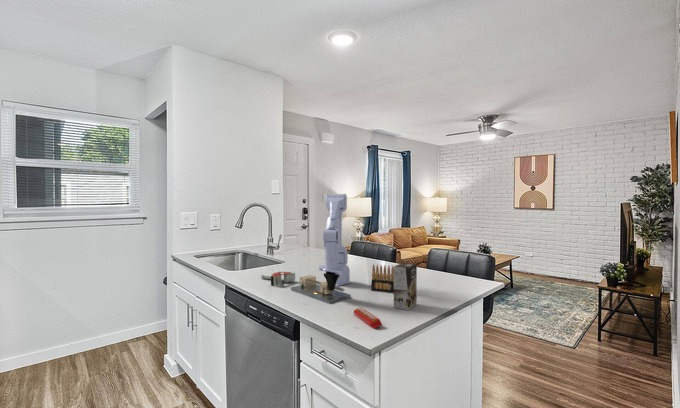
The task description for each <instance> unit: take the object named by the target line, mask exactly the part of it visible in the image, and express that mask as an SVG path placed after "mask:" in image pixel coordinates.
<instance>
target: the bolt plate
mask: <svg viewBox="0 0 680 408" xmlns="http://www.w3.org/2000/svg"><path fill="white" fill-rule="evenodd" d="M290 291H293V292H295V293H298V294H301V295H304V296H307V297H309V298H312V299H315V300H318V301H321V302H324V303H326V304H328V303H330V304H333V303H337V302H339V301H343V300H346V299H350V298H351V297H352V295H351V294H350V293H346V292H345V291H340V290H336V289H334V290H333V293H331V294H327V295H326V294H322V293H321V290H320V284H317V283H316V286H312V287H308V288H304V287H301V286H300V284H299V285H296V286H291V287H290Z"/></svg>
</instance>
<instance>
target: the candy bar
mask: <svg viewBox="0 0 680 408" xmlns="http://www.w3.org/2000/svg"><path fill="white" fill-rule="evenodd" d="M353 315H354V316H356V317H357V318H358V319H359V320H361V321H362V322H363V323H364V324H366V325H368V326H369V327H371V328H372V329H376V328H379V327H380V326H383V323H382V322H381V319H380V318H378V317H377V316H375V315H374V314H373V313H371V312H369V311H368V310H367V309H365V308H364V307H357V308H355V309H353Z"/></svg>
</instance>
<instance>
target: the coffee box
mask: <svg viewBox="0 0 680 408" xmlns="http://www.w3.org/2000/svg"><path fill="white" fill-rule="evenodd" d="M393 267H394V293H393V308H394V309H400V310H405V311H410V310H412V309H413V308H414V307H415V306H416V305H417V303H418V301H417V297H418V295H417V293H418V291H417V290H418V289H417V286H418V285H417V281H418V279H417V276H418V272H417V270H418V269H417V268H418V267H417V263H408V262H401V263H399V264H395V265H393Z"/></svg>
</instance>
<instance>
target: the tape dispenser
mask: <svg viewBox="0 0 680 408" xmlns="http://www.w3.org/2000/svg"><path fill="white" fill-rule="evenodd" d="M260 276H261V277H260V278H261V279H262V280H264V279H265V280H270V285H271V287H275V288H279V287H283V282H284V283H287V284H288V283H290V284H291V283H292V282H295V281H296V272H290V271H278V272H276V271H275V272H273V273H266V272H265V273H262V274H261V275H260ZM282 276H283V280H282Z"/></svg>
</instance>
